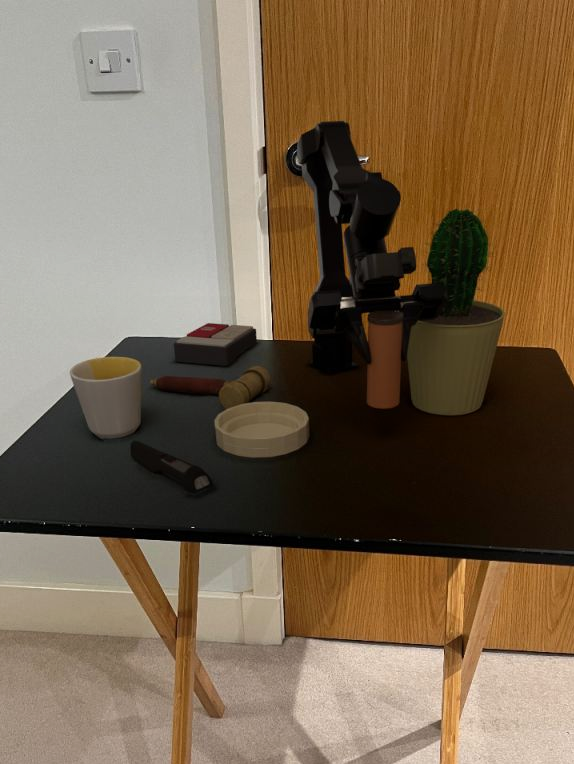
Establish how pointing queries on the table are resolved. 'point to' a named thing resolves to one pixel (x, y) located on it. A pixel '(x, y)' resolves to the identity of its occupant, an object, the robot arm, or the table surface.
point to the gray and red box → (215, 344)
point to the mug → (109, 394)
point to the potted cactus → (455, 323)
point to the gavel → (220, 386)
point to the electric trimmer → (171, 467)
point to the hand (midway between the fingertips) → (386, 361)
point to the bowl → (262, 429)
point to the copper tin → (384, 358)
